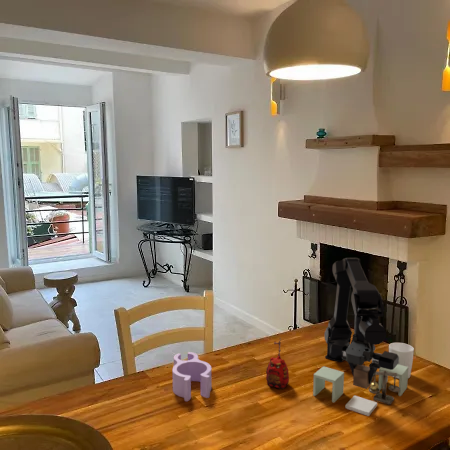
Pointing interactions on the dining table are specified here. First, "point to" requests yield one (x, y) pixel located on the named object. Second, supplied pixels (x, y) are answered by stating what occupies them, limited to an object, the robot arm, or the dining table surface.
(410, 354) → the white cup
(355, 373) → the walnut block
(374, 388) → the bronze balance
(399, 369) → the green cover right
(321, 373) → the green cover left
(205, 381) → the clip
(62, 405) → the dining table surface
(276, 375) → the red clay folk toy
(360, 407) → the grey ceramic tile
